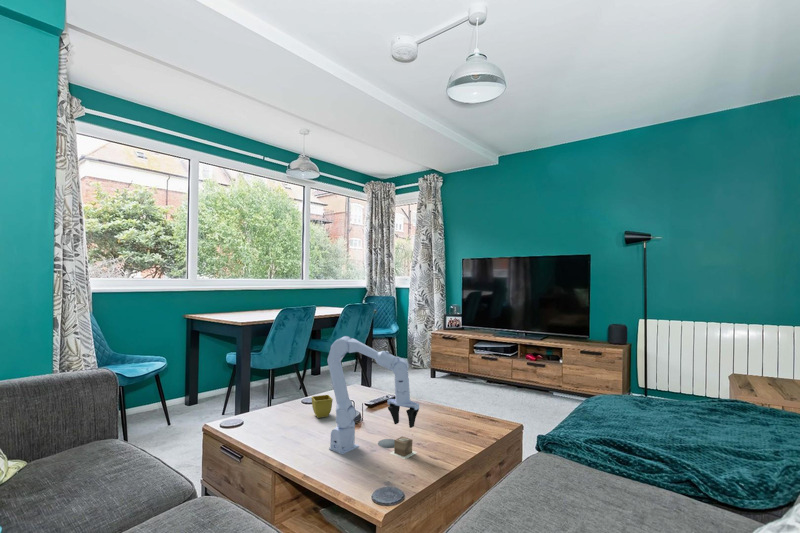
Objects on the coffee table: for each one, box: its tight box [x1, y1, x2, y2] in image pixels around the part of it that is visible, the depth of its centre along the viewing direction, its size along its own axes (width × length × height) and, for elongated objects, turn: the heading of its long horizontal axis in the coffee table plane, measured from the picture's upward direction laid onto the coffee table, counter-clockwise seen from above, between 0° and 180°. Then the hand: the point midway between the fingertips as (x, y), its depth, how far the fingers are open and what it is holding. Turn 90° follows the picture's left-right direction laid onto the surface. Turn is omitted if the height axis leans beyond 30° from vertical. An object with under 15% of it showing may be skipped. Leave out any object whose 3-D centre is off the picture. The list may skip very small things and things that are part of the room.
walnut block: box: [393, 436, 413, 457], centre depth 156 cm, size 5×5×5 cm
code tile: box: [388, 450, 418, 460], centre depth 156 cm, size 8×8×1 cm
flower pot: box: [311, 394, 333, 419], centre depth 197 cm, size 9×9×9 cm
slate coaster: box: [377, 438, 396, 449], centre depth 165 cm, size 9×9×1 cm
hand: (404, 425), depth 158 cm, fingers open, 7 cm apart
